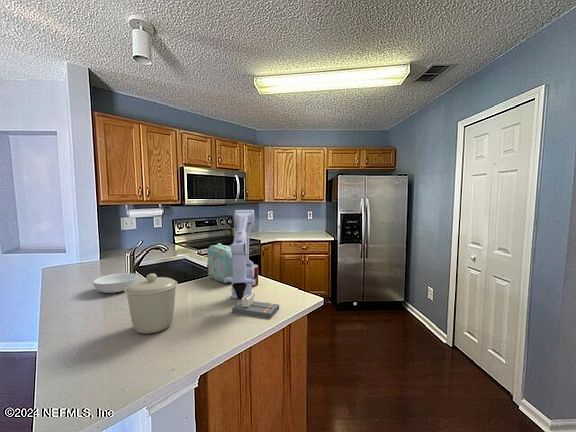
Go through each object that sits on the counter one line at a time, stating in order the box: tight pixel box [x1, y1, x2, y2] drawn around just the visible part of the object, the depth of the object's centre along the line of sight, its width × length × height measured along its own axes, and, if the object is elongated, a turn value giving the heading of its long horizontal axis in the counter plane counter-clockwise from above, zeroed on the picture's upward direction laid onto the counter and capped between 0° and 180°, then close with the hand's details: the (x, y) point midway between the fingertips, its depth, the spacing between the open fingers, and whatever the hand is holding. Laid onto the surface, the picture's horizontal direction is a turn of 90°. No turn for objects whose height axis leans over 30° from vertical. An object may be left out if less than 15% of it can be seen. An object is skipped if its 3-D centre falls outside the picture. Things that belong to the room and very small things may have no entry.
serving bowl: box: [92, 272, 140, 294], centre depth 148 cm, size 21×21×7 cm
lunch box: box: [206, 242, 233, 284], centre depth 166 cm, size 27×10×21 cm, turn 43°
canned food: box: [251, 263, 259, 288], centre depth 155 cm, size 8×8×11 cm
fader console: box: [231, 300, 280, 319], centre depth 120 cm, size 18×10×2 cm, turn 71°
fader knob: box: [241, 294, 254, 307], centre depth 121 cm, size 3×5×4 cm, turn 161°
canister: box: [123, 273, 179, 335], centre depth 104 cm, size 18×18×21 cm
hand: (240, 299), depth 122 cm, fingers closed
